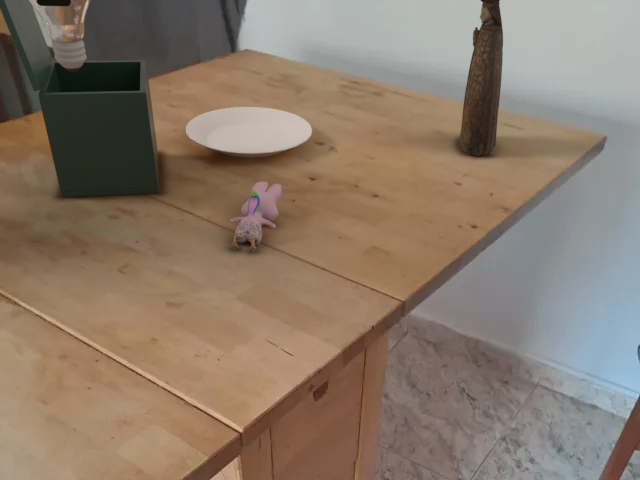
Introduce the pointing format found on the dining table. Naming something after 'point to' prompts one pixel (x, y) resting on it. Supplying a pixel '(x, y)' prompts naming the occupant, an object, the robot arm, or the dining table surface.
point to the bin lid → (27, 39)
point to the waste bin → (101, 128)
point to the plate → (249, 131)
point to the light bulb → (66, 31)
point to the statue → (483, 84)
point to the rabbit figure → (257, 213)
